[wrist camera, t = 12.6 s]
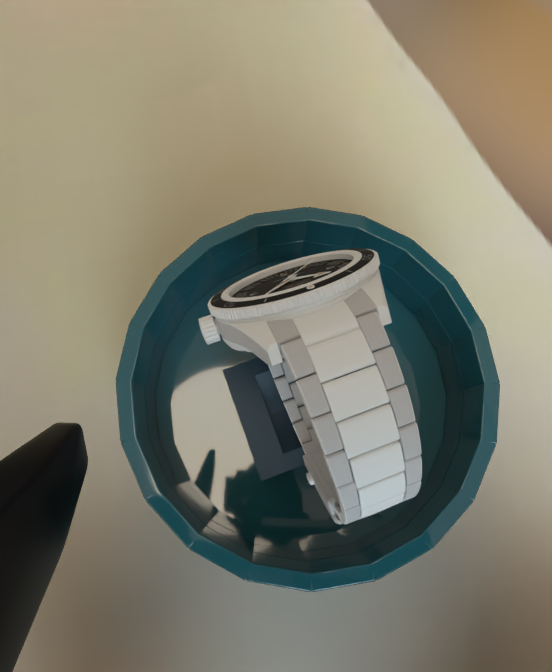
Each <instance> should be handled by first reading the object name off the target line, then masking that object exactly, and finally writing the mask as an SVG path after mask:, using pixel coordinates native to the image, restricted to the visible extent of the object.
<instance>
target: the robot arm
mask: <svg viewBox="0 0 552 672" xmlns="http://www.w3.org/2000/svg"><path fill="white" fill-rule="evenodd" d="M87 465H88V456H87V451H86V446H85V441H84V436H83V431H82V428H81V426H80V425H79V424H77V423H56V424H54V425H52V426H51V427H49V428H48V429H46V430H45V431H43V432H42V433H40V434H39V435H37V436H36V437H34V438H33V439H32V440H30V441H29V442H27V443H26V444H24V445H23V446H21V447H20V448H18V449H17V450H15V451H14V452H12V453H11V454H9V455H8V456H7V457H5V458H4V459H2V460H1V461H0V672H12V671H13V669H14V666H15V664H16V662H17V659H18V657H19V654H20V652H21V649H22V647H23V645H24V642H25V640H26V637H27V635H28V633H29V630H30V628H31V625H32V623H33V621H34V618H35V616H36V613H37V611H38V609H39V606H40V604H41V601H42V599H43V597H44V594H45V592H46V589H47V587H48V585H49V582H50V580H51V577H52V575H53V573H54V570H55V568H56V565H57V563H58V561H59V558H60V556H61V553H62V550H63V548H64V545H65V542H66V539H67V535H68V532H69V529H70V525H71V522H72V518H73V515H74V512H75V508H76V505H77V501H78V498H79V494H80V491H81V487H82V484H83V481H84V477H85V474H86V470H87Z"/></svg>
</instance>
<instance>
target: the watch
mask: <svg viewBox="0 0 552 672" xmlns="http://www.w3.org/2000/svg"><path fill="white" fill-rule="evenodd" d="M379 265H380V260H379V256H378V253H377V252H376V251H374V250H370V249H362V248H352V249H341V250H334V251H329V252H323V253H318V254H314V255H310V256H306V257H302V258H298V259H295V260H291V261H288V262H285V263H281V264H278V265H275V266H272V267H270V268H267V269H264V270H261V271H259V272H256V273H254V274H251V275H249V276H247V277H244V278H242V279H240V280H238V281H236V282H234V283H232V284H230V285H229V286H227V287H225V288H224V289H222V290H221V291H219V292H218V293H217V294H215V295H214V296H213V297H212V298H211V299H210V300H209V302H208V308H209V311H210V313H211V315H208V316H205V317H202V318H199V325H200V329H201V332H202V335H203V337H204V339H205V341H206V343H207V344H208V345H209V344H212V343H215V342H217V341H220V335H221V336H222V339H223V341H224V342H226V344H227V345H228V346H230V347H231V348H232V349H235V350H238V351H247V352H252V353H254V354H255V355H256V356H258V357H257V358H254V359H252V360H249V361H246V362H243V363H240V364H238V365H235V366H232V367H229V368H227V369H224V370H222V371H223V373H224V376H225V379H226V382H227V385H228V388H229V391H230V393H231V396H232V399H233V402H234V405H235V408H236V411H237V413H238V416H239V419H240V422H241V425H242V428H243V431H244V433H245V436H246V439H247V442H248V445H249V448H250V451H251V453H252V456H253V459H254V462H255V465H256V468H257V471H258V473H259V476H260V479H261V481H263V480H266V479H268V478H271V477H274V476H276V475H279V474H281V473H284V472H287V471H289V470H292V469H294V468H297V467H300V466H302V465H305V466H306V468H307V470H308V473H306V477H307V480H308V482H309V484H310V485H313V484H314V485H315V487H316V489H317V491H318V493H319V495H320V497H321V499H322V501H323V503H324V505H325V506H326V508H327V510H328V512H329V514H330V515H331V517H332V519H333V520H334V522H335V523H337V524H339V525H340V524H345V525H346V524H348V523H351V522H353V521H356V520H359V519H362V518H365V517H368V516H371V515H373V514H376V513H378V512H381V511H383V510H385V509H387V508H389V507H391V506H394V505H396V504H398V503H400V502H403V501H406V500H408V499H411V498H413V497H415V496H416V495H417V493H418V492H419V490H420V486H421V479H422V459H421V456H420V455H421V453H422V452H421V443H420V436H419V431H418V426H417V423H416V422H415V415H414V411H413V407H412V403H411V399H410V395H409V392H408V388H407V386H406V385H404V378H403V375H402V372H401V369H400V366H399V363H398V360H397V358H396V355H395V352H394V350H393V348H392V347H391V346H390V347H388V346H389V345H390V342H389V339H388V336H387V334H386V331H385V329H384V327H383V326H384V325H387V324H390V323H392V320H391V316H390V312H389V308H388V304H387V300H386V297H385V293H384V288H383V283H382V279H381V275H380V271H379V268H378V267H379ZM213 316H214V317H215V319H214V318H213ZM385 347H387V348H385ZM383 348H385V349H383ZM380 349H382V350H380ZM377 350H379V351H377ZM374 351H376V352H374ZM372 352H374V353H372ZM399 385H400V386H399ZM396 386H397V387H396ZM391 388H392V389H391ZM388 389H389V390H388Z"/></svg>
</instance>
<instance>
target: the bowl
mask: <svg viewBox="0 0 552 672" xmlns="http://www.w3.org/2000/svg"><path fill="white" fill-rule="evenodd" d="M352 248H362V249H370V250H374V251H376V252H377V253H378V256H379V260H380V265H379V267H378V268H379V271H380V275H381V279H382V283H383V288H384V293H385V297H386V300H387V304H388V308H389V312H390V316H391V320H392V323H390V324H387V325H384V326H383V327H384V329H385V331H386V334H387V336H388V339H389V342H390V345H389V346H388V347H390V346H391V347H392V348H393V350H394V352H395V355H396V358H397V360H398V363H399V366H400V369H401V372H402V375H403V378H404V385H406V386H407V388H408V392H409V395H410V399H411V403H412V407H413V411H414V415H415V422H416V423H417V426H418V431H419V436H420V443H421V452H422V453H421V455H420V456H421V459H422V479H421V486H420V490H419V492H418V493H417V495H416V496H415V497H413V498H411V499H408V500H406V501H403V502H400V503H398V504H396V505H394V506H391V507H389V508H387V509H385V510H383V511H381V512H378V513H376V514H373V515H371V516H368V517H365V518H362V519H359V520H356V521H353V522H351V523H348V524H346V525H345V524H340V525H339V524H337V523H335V522H334V520H333V519H332V517H331V515H330V514H329V512H328V510H327V508H326V506H325V505H324V503H323V501H322V499H321V497H320V495H319V493H318V491H317V489H316V487H315V485H314V484H313V485H310V484H309V482H308V480H307V477H306V473H308V470H307V468H306V466H305V465H302V466H300V467H297V468H294V469H292V470H289V471H287V472H284V473H281V474H279V475H276V476H274V477H271V478H268V479H266V480H263V481H261V479H260V476H259V473H258V471H257V468H256V465H255V462H254V459H253V456H252V453H251V451H250V448H249V445H248V442H247V439H246V436H245V433H244V431H243V428H242V425H241V422H240V419H239V416H238V413H237V411H236V408H235V405H234V402H233V399H232V396H231V393H230V391H229V388H228V385H227V382H226V379H225V376H224V373H223V371H222V370H224V369H227V368H229V367H232V366H235V365H238V364H240V363H243V362H246V361H249V360H252V359H254V358H257V357H258V356H256V355H255V354H254V353H252V352H247V351H238V350H235V349H232V348H231V347H230V346H228V345H227V344H226V342H224V341H223V339H222V336H221V335H220V341H217V342H215V343H212V344H209V345H208V344H207V343H206V341H205V339H204V337H203V335H202V332H201V329H200V325H199V318H202V317H205V316H208V315H211V313H210V311H209V308H208V302H209V300H210V299H211V298H212V297H213V296H214V295H215V294H217V293H218V292H219V291H221V290H222V289H224V288H225V287H227V286H229V285H230V284H232V283H234V282H236V281H238V280H240V279H242V278H244V277H247V276H249V275H251V274H254V273H256V272H259V271H261V270H264V269H267V268H270V267H272V266H275V265H278V264H281V263H285V262H288V261H291V260H295V259H298V258H302V257H306V256H310V255H314V254H318V253H323V252H329V251H334V250H341V249H352ZM213 318H214V319H215V317H214V316H213ZM385 348H387V347H385ZM385 348H383V349H385ZM380 350H382V349H380ZM377 351H379V350H377ZM374 352H376V351H374ZM374 352H372V353H374ZM399 386H400V385H399ZM396 387H397V386H396ZM391 389H392V388H391ZM388 390H389V389H388ZM499 391H500V384H499V379H498V375H497V371H496V367H495V363H494V359H493V355H492V351H491V348H490V344H489V340H488V336H487V332H486V328H485V327H484V324H483V323H482V321H481V319H480V318H479V316H478V315H477V313H476V311H475V310H474V308H473V306H472V305H471V303H470V301H469V300H468V298H467V297H466V295H465V293H464V292H463V290H462V288H461V287H460V285H459V284H458V282H457V280H456V279H455V278H454V276H453V275H452V274H450V273H449V272H448V271H447V270H446V269H445V268H444V267H443V266H442V265H440V264H439V263H438V262H437V261H436V260H435V259H434V258H433V257H431V256H430V255H429V254H428V253H427V252H426V251H425V250H424V249H423V248H421V247H420V246H419V245H418V244H417V243H416V242H415V241H413V240H412V239H410V238H408V237H406V236H404V235H402V234H400V233H398V232H396V231H394V230H391V229H389V228H387V227H385V226H383V225H381V224H379V223H377V222H375V221H373V220H370V219H368V218H366V217H364V216H361V215H355V214H349V213H343V212H336V211H330V210H324V209H318V208H311V207H308V208H307V207H303V208H295V209H288V210H280V211H272V212H264V213H257V214H253V215H249V216H247V217H245V218H243V219H240V220H238V221H236V222H234V223H231V224H229V225H227V226H225V227H223V228H220V229H218V230H216V231H214V232H211V233H209V234H207V235H205V236H203V237H201V238H200V239H198V240H197V241H196V242H195V243H194V244H193V245H192V246H190V247H189V248H188V249H187V250H186V251H185V252H184V253H182V254H181V255H180V256H179V257H178V258H177V259H176V260H174V261H173V262H172V263H171V264H170V265H169V266H168V267H166V268H165V269H164V270H163V271H162V272H161V273H160V275H159V276H158V277H157V279H156V280H155V282H154V284H153V285H152V287H151V289H150V290H149V292H148V294H147V295H146V297H145V298H144V300H143V302H142V303H141V305H140V307H139V308H138V310H137V312H136V313H135V315H134V316H133V318H132V320H131V322H130V324H129V326H128V331H127V335H126V339H125V343H124V347H123V351H122V355H121V360H120V364H119V368H118V372H117V376H116V392H117V405H118V417H119V430H120V440H121V441H122V442H121V444H122V447H123V449H124V451H125V454H126V456H127V459H128V461H129V463H130V466H131V468H132V470H133V473H134V475H135V477H136V480H137V482H138V484H139V487H140V489H141V491H142V494H143V496H144V498H145V499H147V500H146V501H147V503H148V504H149V505H150V506H151V507H152V508H153V510H154V511H155V512H156V513H157V514H158V515H159V516H160V517H161V519H162V520H163V521H164V522H165V523H166V524H167V525H168V526H169V528H170V529H171V530H172V531H173V532H174V533H175V534H176V535H177V536H178V538H179V539H180V540H181V541H182V542H183V543H184V544H185V545H186V547H188V548H189V549H190V550H191V551H193V552H195V553H197V554H198V555H200V556H202V557H204V558H206V559H207V560H209V561H211V562H213V563H215V564H216V565H218V566H220V567H222V568H224V569H225V570H227V571H229V572H231V573H233V574H234V575H236V576H238V577H240V578H241V579H243V580H247V581H249V582H255V583H260V584H266V585H272V586H278V587H284V588H290V589H295V590H301V591H307V592H311V591H312V592H316V591H322V590H327V589H333V588H339V587H345V586H350V585H356V584H362V583H368V582H373V581H375V579H376V580H379V579H380V578H382V577H384V576H386V575H387V574H389V573H391V572H393V571H395V570H396V569H398V568H400V567H402V566H403V565H405V564H407V563H409V562H410V561H412V560H414V559H416V558H417V557H419V556H421V555H423V554H424V553H426V552H428V551H430V550H431V548H434V547H435V545H436V544H437V543H438V542H439V541H440V540H441V539H442V537H443V536H444V535H445V534H446V533H447V532H448V530H449V529H450V528H451V527H452V526H453V525H454V523H455V522H456V521H457V520H458V519H459V518H460V517H461V515H462V514H463V513H464V512H465V511H466V510H467V508H468V507H469V506H470V505H471V504H472V503H473V500H474V499H475V496H476V494H477V491H478V489H479V486H480V484H481V481H482V479H483V476H484V474H485V471H486V469H487V466H488V464H489V461H490V459H491V456H492V454H493V451H494V449H495V446H496V443H497V426H498V408H499Z"/></svg>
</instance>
